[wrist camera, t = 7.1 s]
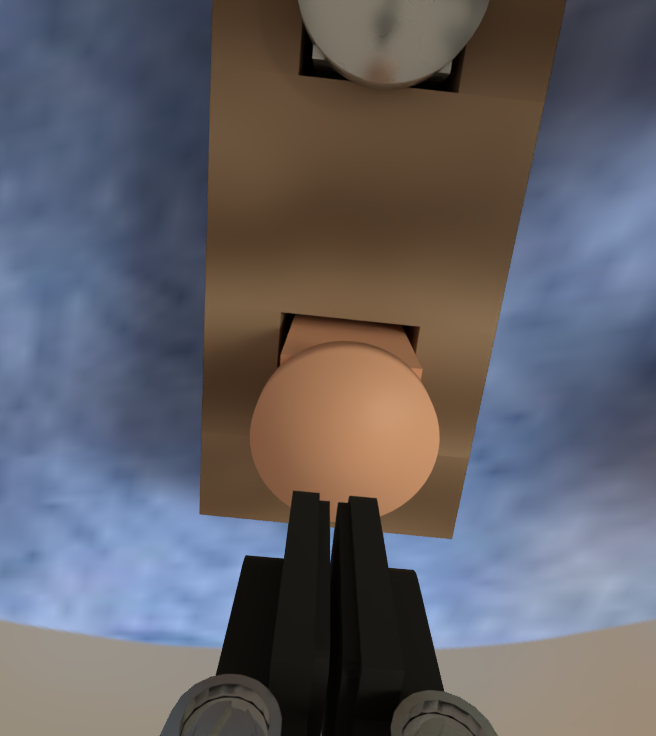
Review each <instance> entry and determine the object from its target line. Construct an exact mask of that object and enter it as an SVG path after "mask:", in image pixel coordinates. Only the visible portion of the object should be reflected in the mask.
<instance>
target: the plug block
mask: <svg viewBox="0 0 656 736" xmlns="http://www.w3.org/2000/svg"><path fill="white" fill-rule="evenodd" d="M565 4H566V0H490V1H489V4H488V7H487V10H486V12H485V14H484V16H483V18H482V20H481V22H480V24H479V26H478V28H477V29H476V31H475V33H474V34H473V36H472V37H471V38H470V40H469V41H468V42H467V44H466V45H465V46H464V47H463V49H462V50H461V51H460V52H459V53H458V54H457V56H456V57H455V58H454V59H453V60H452V65H451V71H450V74H449V75H448V77H447V78H446V79H445V80H444V81H443V82H442V83H441V84H440V85H439V86H438V87H437V88H436V90H426V89H417V88H408V87H406V88H401V89H392V90H384V89H374V88H369V87H365V86H362V85H359V84H356V83H354V82H352V81H344V80H335V79H326V78H317V77H310V70H311V58H312V45H313V43H312V42H311V40H310V37H309V35H308V33H307V31H306V29H305V26H304V23H303V20H302V17H301V12H300V7H299V3H298V0H213V7H212V46H211V85H210V124H209V163H208V202H207V241H206V281H205V320H204V359H203V398H202V437H201V476H200V514H202V515H212V516H222V517H233V518H243V519H253V520H263V521H273V522H283V523H289V516H290V509H291V507H289V506H288V505H286V504H285V503H283V502H282V501H281V500H280V499H279V498H278V497H276V496H275V495H274V494H273V493H272V492H271V490H270V489H269V488H268V487H267V486H266V484H265V483H264V481H263V480H262V478H261V477H260V475H259V473H258V471H257V469H256V466H255V464H254V460H253V457H252V453H251V447H250V427H251V421H252V417H253V414H254V410H255V408H256V405H257V402H258V400H259V397H260V395H261V393H262V390H263V388H264V386H265V385H266V383H267V381H268V380H269V378H270V377H271V376H272V374H273V373H274V372H275V371H276V370H277V368H278V367H280V359H281V353H282V350H283V347H284V344H285V342H286V339H287V336H288V333H289V330H290V319H291V313H294V314H303V315H313V316H323V317H332V318H342V319H352V320H361V321H371V322H380V323H390V324H399V325H402V327H403V330H404V332H405V334H406V336H407V338H408V340H409V342H410V344H411V346H412V348H413V350H414V352H415V354H416V356H417V359H418V361H419V363H420V365H421V367H422V369H423V370H422V376H421V382H422V383H423V385H424V387H425V389H426V391H427V393H428V395H429V398H430V400H431V402H432V404H433V407H434V410H435V413H436V416H437V419H438V425H439V438H440V441H439V450H438V454H437V458H436V462H435V464H434V467H433V469H432V472H431V474H430V475H429V477H428V479H427V480H426V482H425V483H424V485H423V486H422V487H421V488H420V490H419V491H418V492H417V493H416V494H415V495H414V496H413V497H412V498H411V499H410V500H408V501H407V502H406V503H404V504H403V505H402V506H400V507H399V508H397V509H395V510H393V511H392V512H390V513H387V514H385V515H383V516H380V519H381V525H382V532H385V533H395V534H406V535H416V536H426V537H436V538H446V539H452V536H453V532H454V527H455V522H456V517H457V513H458V508H459V503H460V499H461V494H462V489H463V484H464V480H465V475H466V470H467V466H468V461H469V456H470V451H471V447H472V442H473V437H474V433H475V428H476V423H477V418H478V414H479V409H480V404H481V400H482V395H483V390H484V386H485V381H486V376H487V371H488V367H489V362H490V357H491V353H492V348H493V343H494V338H495V334H496V329H497V324H498V320H499V315H500V310H501V305H502V301H503V296H504V291H505V287H506V282H507V277H508V272H509V268H510V263H511V258H512V254H513V249H514V244H515V239H516V235H517V230H518V225H519V221H520V216H521V211H522V207H523V202H524V197H525V192H526V188H527V183H528V178H529V174H530V169H531V164H532V159H533V155H534V150H535V145H536V141H537V136H538V131H539V126H540V122H541V117H542V112H543V108H544V103H545V98H546V93H547V89H548V84H549V79H550V75H551V70H552V65H553V60H554V56H555V51H556V46H557V42H558V37H559V32H560V28H561V23H562V18H563V13H564V9H565ZM330 527H334V528H335V522H330Z"/></svg>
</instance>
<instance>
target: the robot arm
mask: <svg viewBox="0 0 656 736" xmlns="http://www.w3.org/2000/svg"><path fill="white" fill-rule="evenodd" d="M160 736H498V735H497V733H496V732H495V730H494V729H493V727H492V725H491V724H490V722H489V720H488V719H487V718H486V717H485V716H484V715H483V714H481V712H480V711H479V710H478V709H477V708H476V707H474V706H473V705H471V704H470V703H468V702H467V701H465V700H463V699H462V698H460V697H458V696H455V695H452V694H450V693H447V692H444V688H443V684H442V680H441V676H440V672H439V667H438V663H437V659H436V655H435V650H434V646H433V642H432V637H431V633H430V629H429V625H428V620H427V616H426V612H425V608H424V603H423V599H422V595H421V591H420V586H419V582H418V578H417V575H416V572H415V571H414V570H407V569H396V568H388V563H387V556H386V550H385V544H384V538H383V532H382V525H381V519H380V513H379V507H378V501H377V498H370V497H360V496H349V499H348V503H344V502H338V505H337V513H336V521H335V529H334V537H333V545H332V553H331V562H330V501H322V500H320V493H316V492H305V491H294V490H293V493H292V501H291V509H290V516H289V524H288V532H287V540H286V547H285V555H284V559H282V558H270V557H259V556H248V555H246V556H245V558H244V561H243V565H242V569H241V573H240V577H239V582H238V586H237V590H236V594H235V598H234V602H233V606H232V611H231V615H230V619H229V623H228V627H227V631H226V635H225V639H224V644H223V648H222V652H221V656H220V660H219V665H218V668H217V672H216V676H213V677H209V678H208V679H205V680H203V681H201V682H199V683H197V684H195V685H194V686H192V687H191V688H190V689H189V690H188V691H187V692H185V693H184V694H183V695H182V696H181V697H180V699H179V700H178V702H177V703H176V705H175V706H174V708H173V709H172V711H171V713H170V715H169V717H168V719H167V721H166V723H165V725H164V728H163V730H162V732H161V734H160Z"/></svg>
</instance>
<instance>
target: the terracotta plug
mask: <svg viewBox="0 0 656 736" xmlns="http://www.w3.org/2000/svg"><path fill="white" fill-rule="evenodd" d="M422 370H423V369H422V367H421V365H420V363H419V361H418V359H417V356H416V354H415V352H414V350H413V348H412V346H411V344H410V342H409V340H408V338H407V336H406V334H405V332H404V330H403V327H402V325H397V324H388V323H378V322H369V321H359V320H349V319H340V318H330V317H320V316H311V315H301V314H295V317H294V319H293V322H292V325H291V328H290V330H289V333H288V336H287V339H286V342H285V344H284V347H283V350H282V353H281V359H280V367H278V368H277V370H276V371H275V372H274V373H273V374H272V376H271V377H270V378H269V380H268V381H267V383H266V385H265V386H264V388H263V390H262V393H261V395H260V397H259V400H258V402H257V405H256V408H255V410H254V414H253V417H252V421H251V427H250V447H251V453H252V457H253V460H254V464H255V466H256V469H257V471H258V473H259V475H260V477H261V478H262V480H263V481H264V483H265V484H266V486H267V487H268V488H269V489H270V490H271V492H272V493H273V494H274V495H275V496H276V497H278V498H279V499H280V500H281V501H282V502H283V503H285V504H286V505H288V506H289V507H291V501H292V493H293V490H294V491H305V492H316V493H320V500H322V501H330V522H335V521H336V513H337V505H338V502H344V503H348V499H349V496H360V497H370V498H377V501H378V507H379V513H380V516H383V515H385V514H387V513H390V512H392V511H393V510H395V509H397V508H399V507H400V506H402V505H403V504H404V503H406V502H407V501H408V500H410V499H411V498H412V497H413V496H414V495H415V494H416V493H417V492H418V491H419V490H420V488H421V487H422V486H423V485H424V483H425V482H426V480H427V479H428V477H429V475H430V474H431V472H432V469H433V467H434V464H435V462H436V458H437V454H438V450H439V441H440V438H439V425H438V419H437V416H436V413H435V410H434V407H433V404H432V402H431V400H430V398H429V395H428V393H427V391H426V389H425V387H424V385H423V383H422V382H421V376H422Z"/></svg>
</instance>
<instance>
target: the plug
mask: <svg viewBox="0 0 656 736" xmlns="http://www.w3.org/2000/svg"><path fill="white" fill-rule="evenodd" d="M489 1H490V0H298V3H299V7H300V12H301V17H302V20H303V23H304V26H305V29H306V31H307V33H308V35H309V37H310V40H311V42H312V43H313V56H312V59H313V65H314V70H315V75H316V77H317V78H326V79H335V80H344V81H352V82H354V83H356V84H359V85H362V86H365V87H369V88H374V89H384V90H392V89H401V88H406V87H408V88H417V89H426V90H436V88H437V87H438V86H439V85H440V84H441V83H442V82H443V81H444V80H445V79H446V78H447V77H448V75H449V74H450V71H451V65H452V60H453V59H454V58H455V57H456V56H457V54H458V53H459V52H460V51H461V50H462V49H463V47H464V46H465V45H466V44H467V42H468V41H469V40H470V38H471V37H472V36H473V34H474V33H475V31H476V29H477V28H478V26H479V24H480V22H481V20H482V18H483V16H484V14H485V12H486V10H487V7H488V4H489Z"/></svg>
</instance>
